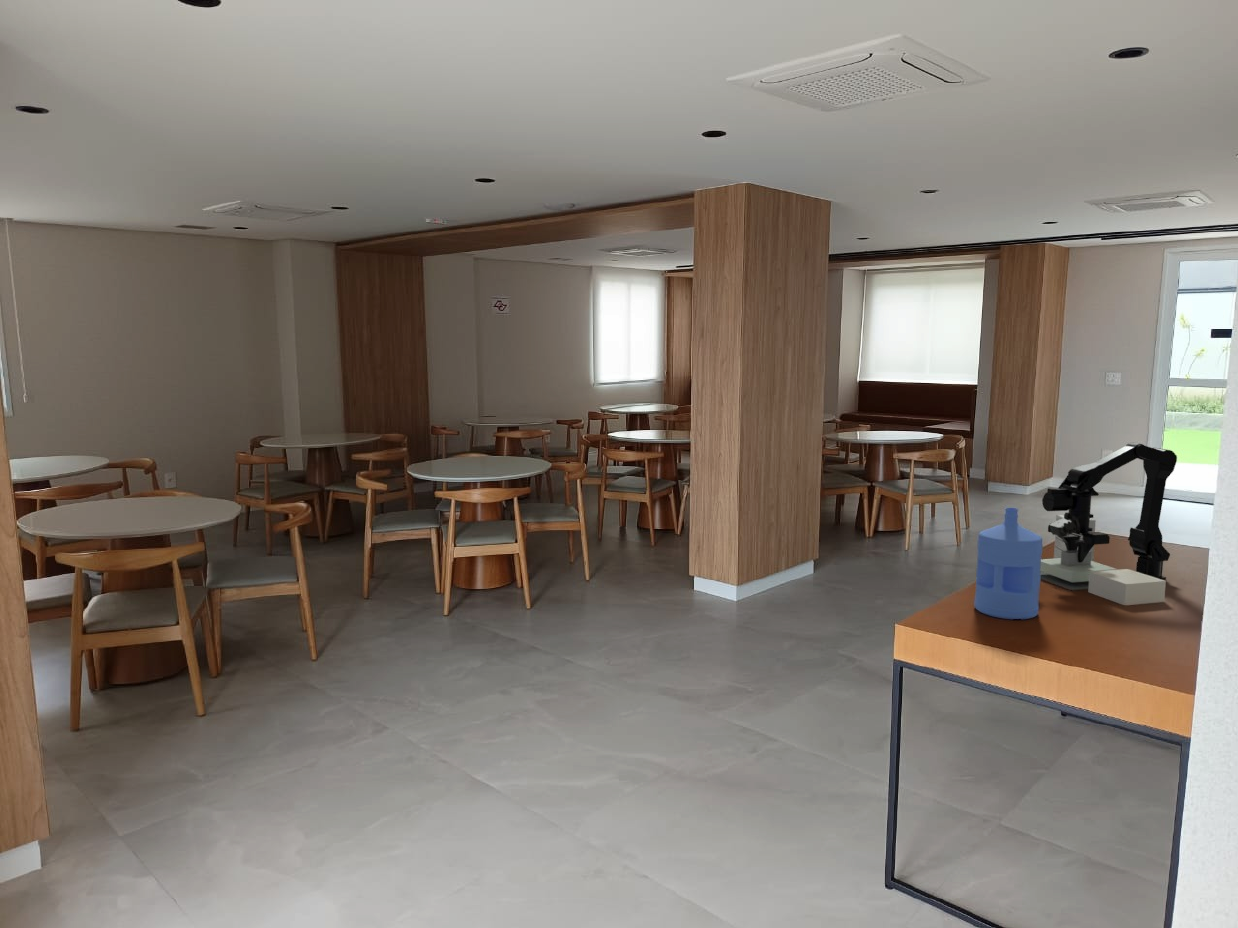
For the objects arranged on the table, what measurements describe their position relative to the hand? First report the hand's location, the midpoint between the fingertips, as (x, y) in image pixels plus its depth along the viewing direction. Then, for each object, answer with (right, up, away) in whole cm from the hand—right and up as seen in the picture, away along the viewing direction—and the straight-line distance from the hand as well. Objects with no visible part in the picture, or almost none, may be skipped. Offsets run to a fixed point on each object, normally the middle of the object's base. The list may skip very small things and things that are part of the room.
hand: (1076, 560), depth 251 cm
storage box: (+5, -8, -16) cm, 19 cm away
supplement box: (+11, -3, +23) cm, 26 cm away
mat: (0, -6, +1) cm, 6 cm away
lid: (0, -4, +1) cm, 4 cm away
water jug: (-34, -10, -28) cm, 46 cm away
